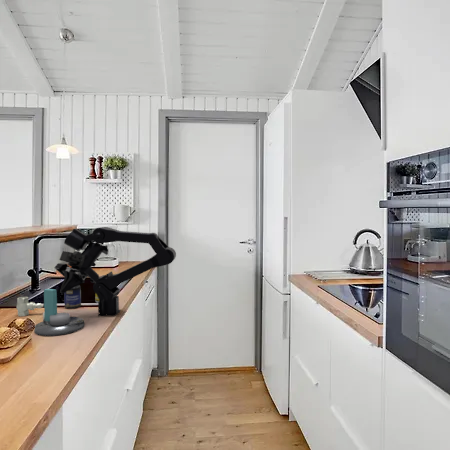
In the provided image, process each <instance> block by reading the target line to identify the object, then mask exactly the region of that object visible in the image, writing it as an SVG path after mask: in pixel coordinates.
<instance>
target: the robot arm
mask: <svg viewBox="0 0 450 450" xmlns="http://www.w3.org/2000/svg"><path fill="white" fill-rule="evenodd" d="M63 241H64V242H63V243H64V245H66V246H67V247H70V248H71V249H73V250H74V251H73V252H72V251H71V252H70V251H64V250H63V251H62V252H61V255H60V257H59V259H58V260H59V261H64V262H66V263H64V262H59V263H56V265H55V266H54V269H55V270H56V272H58V273H59V274H60V275H61V276H62V277H64V278H63V281H62V283H61V284H62V285H61V287H60V289H59V293H61V294H64V293H65V292H67V291H68V290H70V289H72V288H74V287H76V286H78V285H80V286H81V284H85V283H86V281H85V279H86V278H89V282H90V283H92V284H93V285H92V290H93V292H94V293H96V294H97V296H98V298H99V302H98V303H97V312H98V314H97V316H98V317H108V316H109V317H115V316H117V315H118V314H119V313H120V312H121V309H120V302H119V301H120V299H119V293H120V292H121V291H120V290H121V289H120V288H119V287H118V286H119V285H120V284H122V283H124V282H126V281H128V280H131V279H132V278H135V277H137V276H139V275H141V274H144V273H145V272H148V271H149V270H151V269H153V268H158V267H163V266H167V265H170V264H172V263H173V262H174V260H176V257H177V253H176V250H175V249H174V248H172V247H170V246H168V244H167V243H165V241H163V239H161V238H160V237H159V235H158V234H157V233H156V232H140V231H139V232H138V231H125V230H124V231H123V230H122V231H121V230H118V229H117V228H116V229H115V228H111V227H108V226H101V227H96V228H94V230H93V231H92V233H88V234H86V233H84V232H82V231H80V230H79V229H78V228H73V229H72V231H71V232H70V233H69V234H68V235H67V236H66V237H65V239H64V240H63ZM114 242H122V243H123V242H124V243H135V244H136V243H137V244H138V243H139V244H148V245H150V248H152V250H153V252H154V253H155V255H153V256H151V257H149V258H148V259H145V260H143V261H142V262H139V263H138V264H136V265H133V266H131V267H128V268H127V269H125V270H122V271H121V272H117V273H113V271H110V272H108V273H106V274H104V275H99V274H98V272H96V271H95V270H94V268H92V267H95V266H96V265H97V264H96V261H97V259H99V257H100V256H101V255H102V253H103V254H104V255H106V256H107V255H108V254H109V249H108V245H103V244H107V243H114ZM80 251H82V252H80Z"/></svg>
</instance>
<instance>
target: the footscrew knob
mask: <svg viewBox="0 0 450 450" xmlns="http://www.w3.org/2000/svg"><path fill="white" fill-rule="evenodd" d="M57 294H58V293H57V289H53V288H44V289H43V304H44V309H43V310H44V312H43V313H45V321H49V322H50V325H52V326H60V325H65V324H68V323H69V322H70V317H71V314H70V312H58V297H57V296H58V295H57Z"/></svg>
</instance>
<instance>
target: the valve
mask: <svg viewBox="0 0 450 450" xmlns="http://www.w3.org/2000/svg"><path fill="white" fill-rule="evenodd" d="M16 300H17V302H16V310H17V316H18V317H27V316H29V315H30V311H34V310H35V309H36V308H37V309H42V308H44V303H41V302H40V303H39V302H37V303H35V302H34V301H30V302H29V297H28V296H20V297H17V299H16Z"/></svg>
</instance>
